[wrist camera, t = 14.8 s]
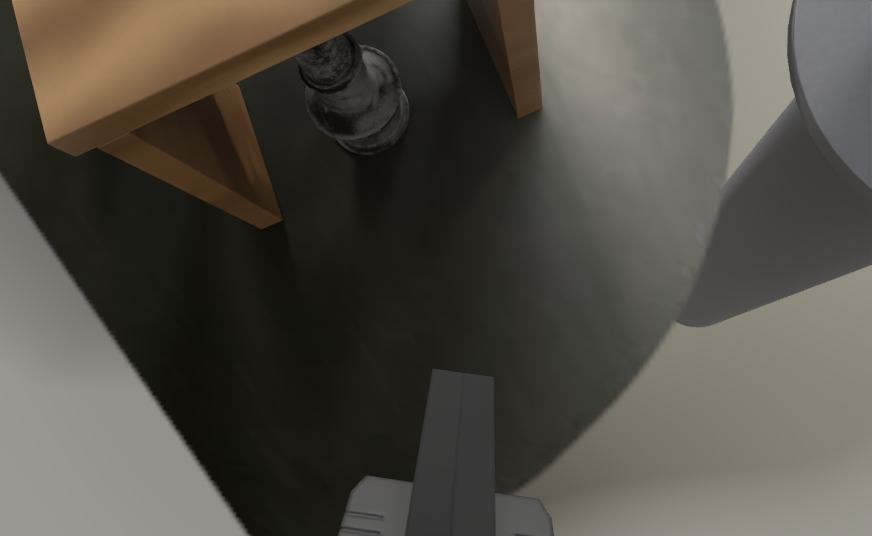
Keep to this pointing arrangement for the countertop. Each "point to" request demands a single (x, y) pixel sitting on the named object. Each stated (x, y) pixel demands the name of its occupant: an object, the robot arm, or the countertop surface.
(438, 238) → the countertop surface
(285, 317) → the countertop surface
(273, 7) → the desk
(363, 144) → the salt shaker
